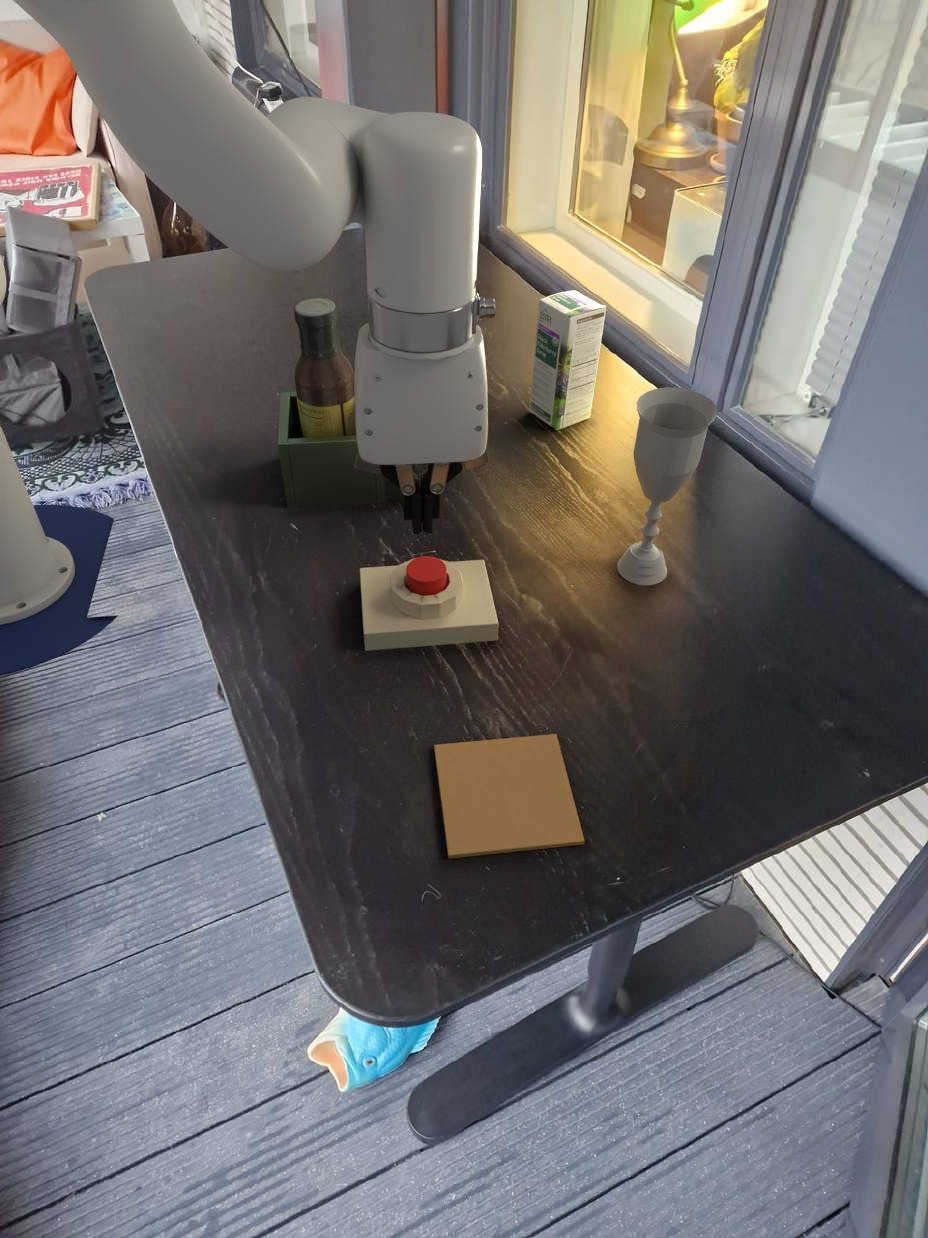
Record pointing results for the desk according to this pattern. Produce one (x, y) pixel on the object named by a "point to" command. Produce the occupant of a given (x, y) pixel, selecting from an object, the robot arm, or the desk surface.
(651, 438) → the chalice
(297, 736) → the desk surface
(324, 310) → the sauce bottle
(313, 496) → the green open box holder
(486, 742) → the mat
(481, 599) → the control block
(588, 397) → the syrup box
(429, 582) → the button
